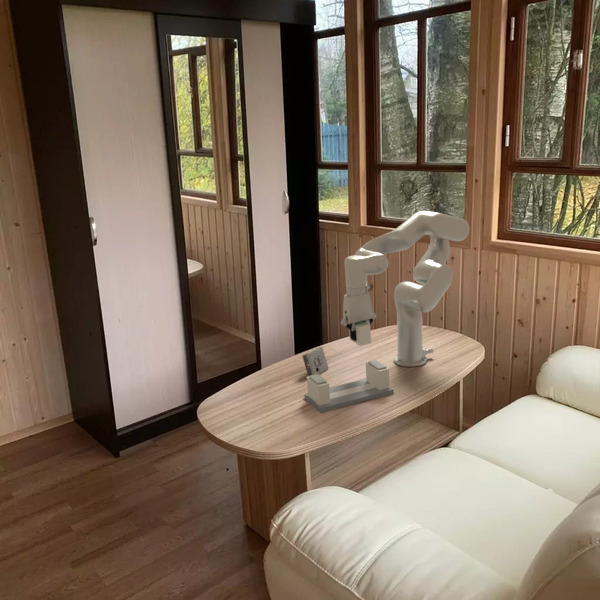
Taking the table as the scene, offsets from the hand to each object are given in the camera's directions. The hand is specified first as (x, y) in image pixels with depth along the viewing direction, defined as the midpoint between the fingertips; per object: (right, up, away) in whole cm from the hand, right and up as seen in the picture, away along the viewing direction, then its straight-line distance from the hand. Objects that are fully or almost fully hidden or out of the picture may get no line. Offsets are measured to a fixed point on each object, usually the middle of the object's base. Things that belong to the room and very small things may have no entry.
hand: (360, 337), depth 220 cm
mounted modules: (-5, -18, -11) cm, 22 cm away
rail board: (-5, -19, -11) cm, 23 cm away
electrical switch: (-16, -14, +11) cm, 24 cm away
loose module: (0, -1, 0) cm, 1 cm away
